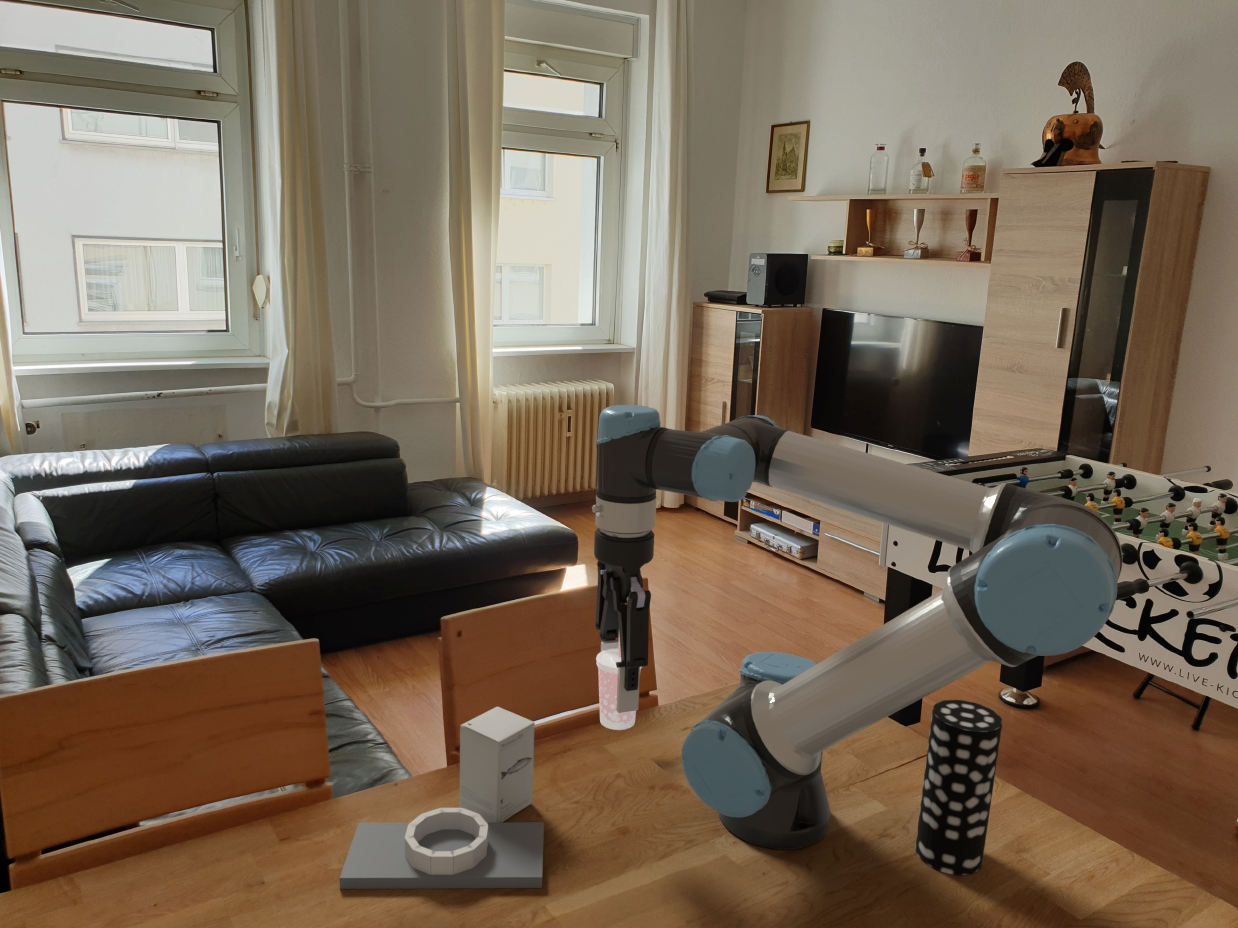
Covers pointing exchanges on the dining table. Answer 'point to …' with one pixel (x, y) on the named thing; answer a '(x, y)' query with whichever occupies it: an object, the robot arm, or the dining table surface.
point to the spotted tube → (958, 786)
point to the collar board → (445, 853)
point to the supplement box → (496, 764)
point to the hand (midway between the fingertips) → (618, 697)
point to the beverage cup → (611, 691)
